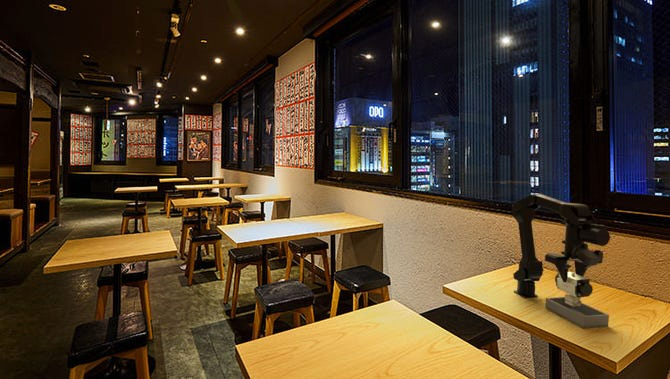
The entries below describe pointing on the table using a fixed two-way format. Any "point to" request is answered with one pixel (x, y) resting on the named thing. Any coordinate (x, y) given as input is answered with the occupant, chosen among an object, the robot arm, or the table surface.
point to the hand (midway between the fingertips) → (571, 281)
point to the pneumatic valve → (574, 288)
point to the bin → (577, 313)
